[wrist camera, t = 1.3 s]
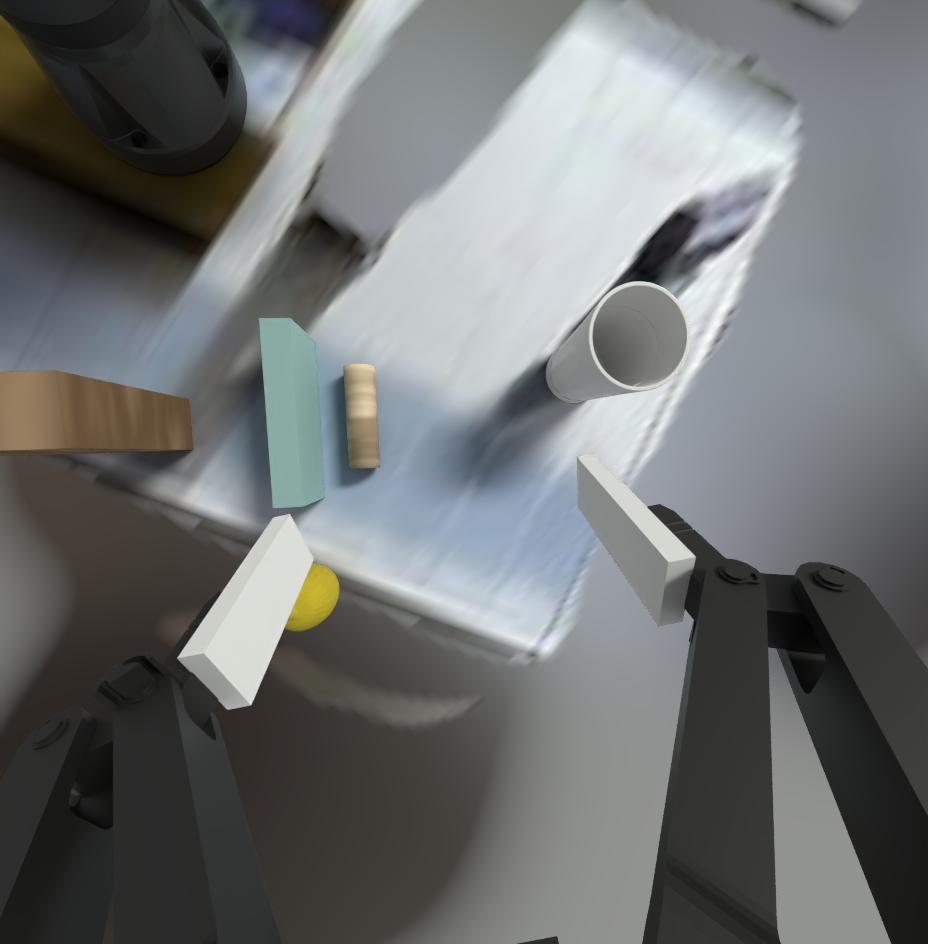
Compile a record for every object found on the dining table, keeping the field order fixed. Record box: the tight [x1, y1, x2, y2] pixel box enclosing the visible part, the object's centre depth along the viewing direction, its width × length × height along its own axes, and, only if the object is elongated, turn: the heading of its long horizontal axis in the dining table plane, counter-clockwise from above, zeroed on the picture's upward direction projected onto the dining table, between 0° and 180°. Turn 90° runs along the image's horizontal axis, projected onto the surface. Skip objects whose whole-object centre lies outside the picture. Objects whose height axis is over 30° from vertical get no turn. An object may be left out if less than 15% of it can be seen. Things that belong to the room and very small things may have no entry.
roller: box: [343, 364, 380, 469], centre depth 34 cm, size 10×3×3 cm
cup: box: [546, 282, 690, 403], centre depth 31 cm, size 8×8×12 cm
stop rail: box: [259, 318, 325, 508], centre depth 32 cm, size 2×16×6 cm, turn 2°
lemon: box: [284, 564, 339, 631], centre depth 32 cm, size 6×6×8 cm
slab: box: [0, 371, 194, 456], centre depth 27 cm, size 14×5×12 cm, turn 93°
